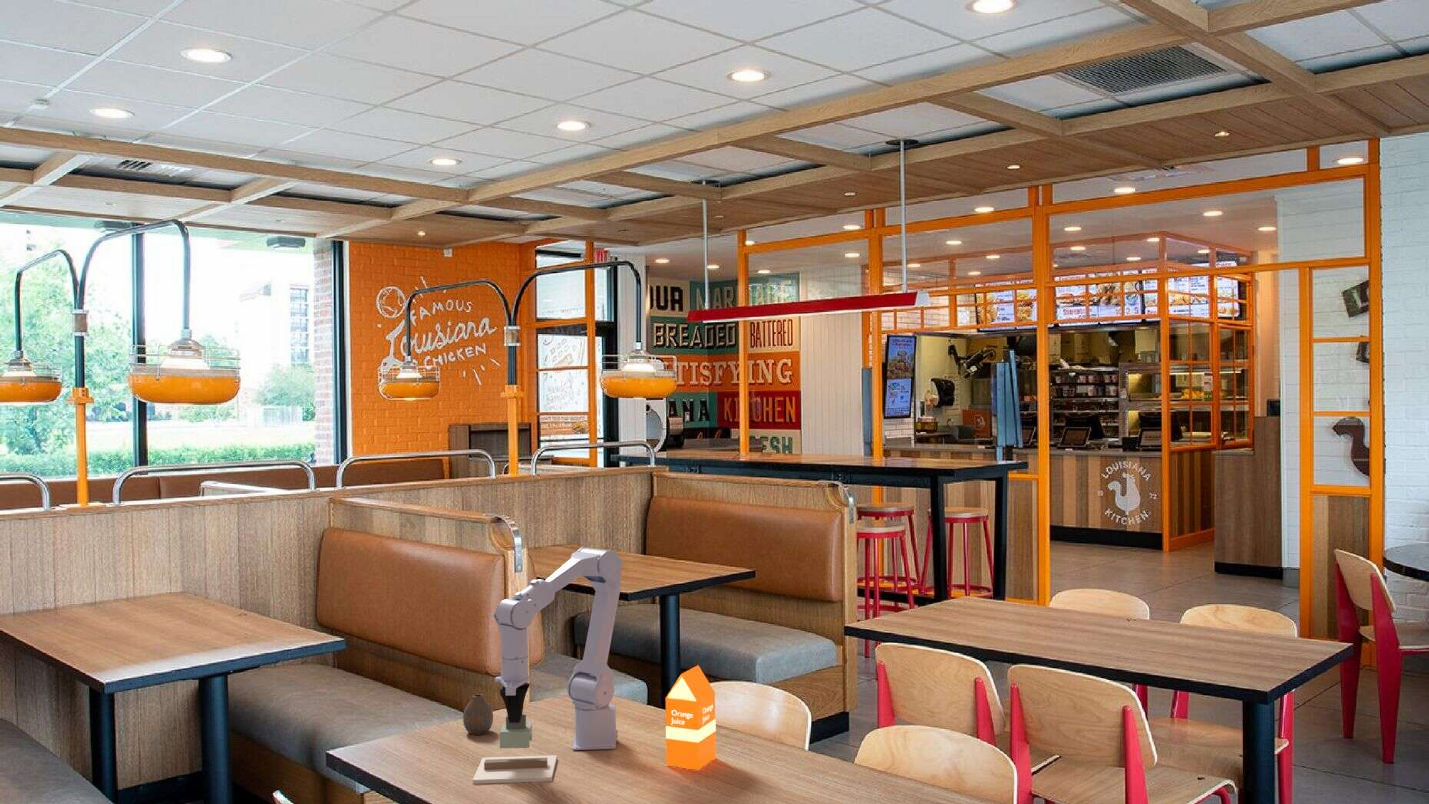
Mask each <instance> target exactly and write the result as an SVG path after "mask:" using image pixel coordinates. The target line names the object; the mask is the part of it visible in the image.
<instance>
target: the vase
mask: <svg viewBox="0 0 1429 804" xmlns="http://www.w3.org/2000/svg"><path fill="white" fill-rule="evenodd" d="M493 711H494V710H493V708H492V706H491V704H490V703H489V702H488V701H487V700H486V699H485V696H484V695H483V694H481V693H480V694H479V693H476V694H473V695H472V697H471V699H470V701H469V702H468V703H467V705H466V706H465V708H464V711H463V714H462V715H463V716H462V722H463V726H464V728H465V731H467V733H469V735H472V736H480V735H485V734H487V733H488V732H489V731H490V729H491V728H492V725H493V723H494V712H493Z"/></svg>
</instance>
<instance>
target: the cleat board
mask: <svg viewBox="0 0 1429 804" xmlns="http://www.w3.org/2000/svg"><path fill="white" fill-rule="evenodd" d="M557 760H558V755H557V754H554V755H525V756H522V755H521V756H491V757H490V756H489V757H482V758H481V761H480V763H479V765H478V767H477V769H476V772H475V774H474V776H473V778H472V784H474V785H476V784H477V785H478V784H479V785H481V784H506V783H508V784H509V783H512V784H513V783H540V782H543V783H544V782H553V777H554V773H555V770H556V769H555V768H556V765H557Z"/></svg>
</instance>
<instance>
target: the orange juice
mask: <svg viewBox="0 0 1429 804" xmlns="http://www.w3.org/2000/svg"><path fill="white" fill-rule="evenodd" d="M716 722H717V721H716V692H715V690H714V689H713V687H712V686H711V684H710V682H709V680H708V679H707V677H706V675H705V674H704V672H703V671H702V669H701V667H700V666H699V664H697V665H696V666H694V667H691V668H690V669H689V670H687V671H684V672H683V673H681V674H680V675H679V677H678V678H677V680H676V682H675V683H674V685H673V686H672V688H671V690H670V691H669V692H668V693H667V696H666V697H665V738H666V740H665V741H666V743H665V745H666V746H665V747H666V749H665V750H666V752H665V753H666V754H665V755H666V766H667V765H669V766H678V767H682V768H686V769H685V770H688V769H696V770H699V769H700V770H701V768H702V767H703V766H705V765H706V764H707V763H709V762H710V761H711V760H713V761H715V760H716V759H715V758H717V756H716V755H717V754H716V751H717V748H716V747H717V746H716V744H717V743H716V741H717V740H716V730H717V729H716V725H717V723H716ZM711 762H712V761H711ZM711 762H710V763H711ZM710 763H709V764H710ZM707 765H708V764H707ZM707 765H706V766H707ZM706 766H705V767H706ZM682 768H681V769H682ZM703 768H704V767H703ZM703 768H702V769H703ZM700 770H699V771H700Z"/></svg>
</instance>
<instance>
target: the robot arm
mask: <svg viewBox="0 0 1429 804" xmlns="http://www.w3.org/2000/svg"><path fill="white" fill-rule="evenodd" d="M623 565H624V562H623V560H622V559H621V557H620V556H619V554H618V552H616V550H614V549H598V548H591V547H589V546H583V547H580V548H578V550H576V551H575V552H572V553H571V556H570V559H569V560H567V561H566V562H564V564H562V565H561V566H560V567H559V568H558V569H557V570H556V571H554V572H553V573H552V574H551V575H550V576H549V577H547V578H546V579H545V580H544V579H542V578H541V579H540V578H539V579H532V580H531V581H529V584H530V585H528V586H526V587H525V588H524V589H522V590H520V591H518V592H516V593H515V594H514V596H513V597H512V598H505V599H503V600H501V602H499V603H498V604H497V606H496V608H495V612H494V613H493V619H494V621H495V623H496V624H497V626H498V632H499V635H500V638H499V640H500V641H499V642H500V643H499V644H500V648H499V649H500V675H499V676H496V677H495V678H494V679H495V680H494V681H495V682H496V683H501V685H502V688H500V689H499V694H500V697H501V698H502V701H503V703H504V705H505V709H506V716H507V715H508V719H509V722H510V723H519V722H520V719H521V715H523V711H524V705H525V704H524V703H525V699H526V696H527V692H528V690H529V688H530V684H531V683H530V676H529V642H528V641H529V633H528V631H529V630H528V628H529V626H531V624H532V623H533V620H534V617H535V616H536V615H537V614H538V613H539V612H540V611H541V610H543V609H545V608H546V607H547V606H548V605H549V604H551V603H552V602H554V599H555V597H556V593H557V592H559V590H562V589H563V588H565V587H566V586H567V585H569V584H571V583H572V582H574V581H575V580H576V579H578V578H581V577H582V578H583V579H585V580H586V581H587V582H589V584H590V585H591V586H592V588H593V589H594V591H595V593H594V600H593V605H592V610H591V615H590V620H589V626H588V630H587V636H586V642H585V647H584V653H583V657H582V660H581V661H580V662H578V663H577V664H575V666H574V667H573V671H572V674H571V676H570V678H569V680H568V682H567V686H566V687H567V688H566V690H567V694H568V698H569V699H570V700H572V705H573V706H574V733H575V735H574V739H573V744H572V745H573V746H572V751H581V750H582V751H584V750H586V751H588V750H614V749H616V747H617V746H616V745H617V739H618V735H619V734H618V729H617V707H616V704H610V703H611V702H612V700H613V698H614V693H615V688H614V687H615V686H614V677H615V674H614V672H613V671H612V669H611V668H610V666H609V665H608V660H609V653H610V649H611V643H612V637H613V632H614V626H615V621H616V614H617V610H618V604H619V598H620V593H621V585H622V583H621V582H622V581H621V576H622V575H621V574H622V571H623V570H622V569H623Z"/></svg>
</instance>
